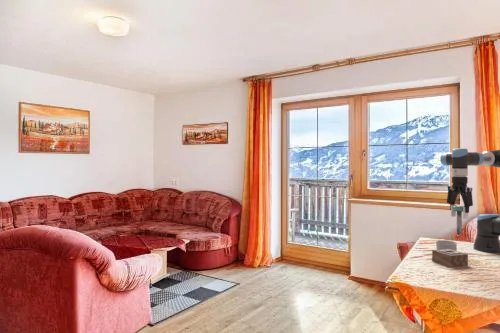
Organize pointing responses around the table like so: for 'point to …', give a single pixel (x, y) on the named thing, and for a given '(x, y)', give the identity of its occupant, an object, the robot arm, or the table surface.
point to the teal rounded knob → (458, 217)
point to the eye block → (450, 257)
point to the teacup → (446, 245)
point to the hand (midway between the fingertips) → (459, 217)
